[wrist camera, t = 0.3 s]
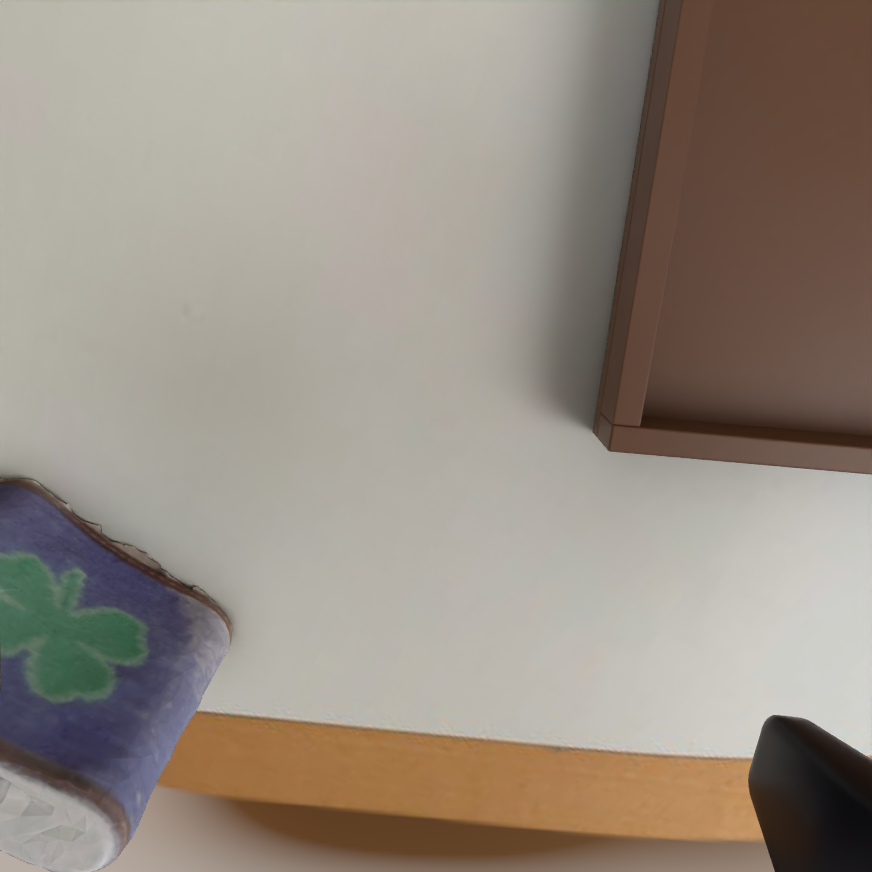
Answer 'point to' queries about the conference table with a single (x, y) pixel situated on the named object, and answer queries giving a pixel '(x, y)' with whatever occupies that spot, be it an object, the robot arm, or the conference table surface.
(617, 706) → the conference table surface
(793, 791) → the robot arm
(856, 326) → the serving tray
